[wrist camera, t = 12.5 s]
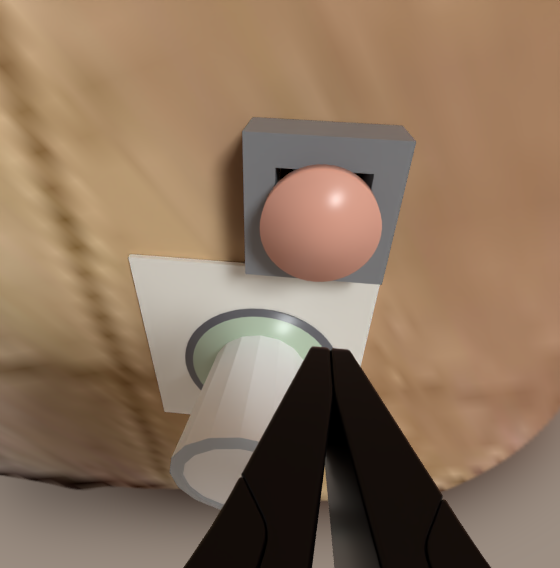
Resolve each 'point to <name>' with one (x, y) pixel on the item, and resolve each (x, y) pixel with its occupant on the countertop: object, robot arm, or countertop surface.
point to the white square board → (237, 316)
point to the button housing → (332, 151)
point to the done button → (320, 223)
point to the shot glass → (232, 415)
